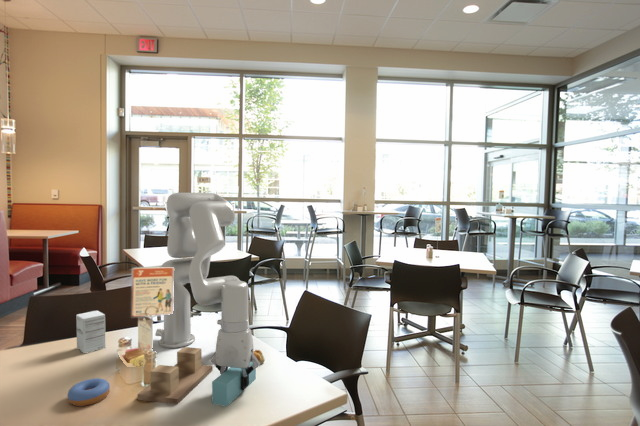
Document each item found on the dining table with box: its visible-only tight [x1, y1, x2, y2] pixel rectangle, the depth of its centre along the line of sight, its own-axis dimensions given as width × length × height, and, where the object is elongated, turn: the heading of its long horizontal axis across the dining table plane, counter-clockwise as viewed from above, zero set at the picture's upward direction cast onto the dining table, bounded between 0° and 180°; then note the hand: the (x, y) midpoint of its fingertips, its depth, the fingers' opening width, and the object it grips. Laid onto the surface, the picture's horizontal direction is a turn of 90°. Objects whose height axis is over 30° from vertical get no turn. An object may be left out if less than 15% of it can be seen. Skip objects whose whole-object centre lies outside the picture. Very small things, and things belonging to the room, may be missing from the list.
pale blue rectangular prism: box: [211, 362, 257, 407], centre depth 109 cm, size 4×16×6 cm, turn 161°
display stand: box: [137, 346, 214, 405], centre depth 112 cm, size 12×20×8 cm, turn 169°
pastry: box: [254, 349, 265, 365], centre depth 126 cm, size 9×7×4 cm
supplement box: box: [75, 310, 107, 354], centre depth 137 cm, size 7×7×13 cm
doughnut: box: [67, 377, 111, 407], centre depth 104 cm, size 10×10×5 cm
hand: (235, 386), depth 109 cm, fingers closed on pale blue rectangular prism, 4 cm apart
